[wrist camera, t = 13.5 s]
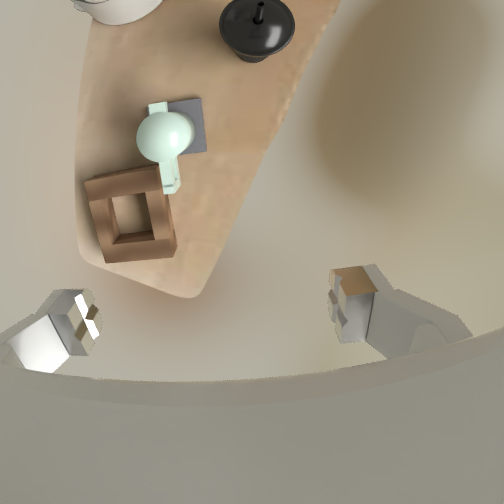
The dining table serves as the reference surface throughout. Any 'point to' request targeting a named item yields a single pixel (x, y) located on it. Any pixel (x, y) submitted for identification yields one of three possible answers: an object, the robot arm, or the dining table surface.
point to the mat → (196, 113)
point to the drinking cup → (256, 28)
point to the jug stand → (105, 222)
